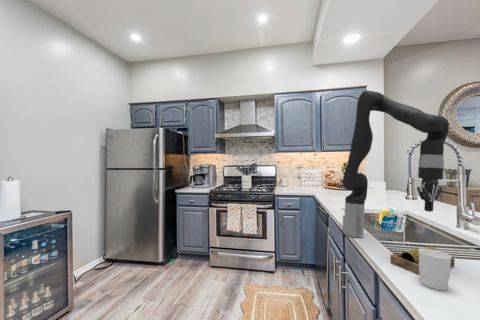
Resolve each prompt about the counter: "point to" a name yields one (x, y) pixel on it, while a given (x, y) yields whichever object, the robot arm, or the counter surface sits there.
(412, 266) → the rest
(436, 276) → the white cup
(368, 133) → the robot arm
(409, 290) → the counter surface
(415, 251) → the vase
